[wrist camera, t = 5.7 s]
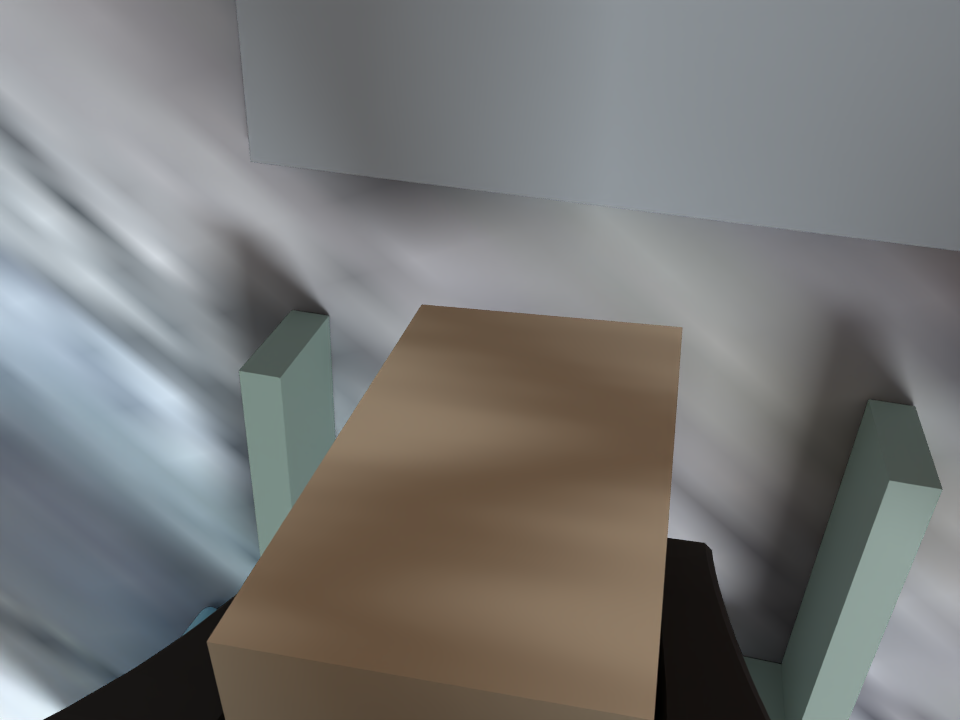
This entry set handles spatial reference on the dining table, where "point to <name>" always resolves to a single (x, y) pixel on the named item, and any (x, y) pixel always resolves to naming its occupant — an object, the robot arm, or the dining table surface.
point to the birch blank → (473, 535)
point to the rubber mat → (627, 104)
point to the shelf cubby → (836, 573)
